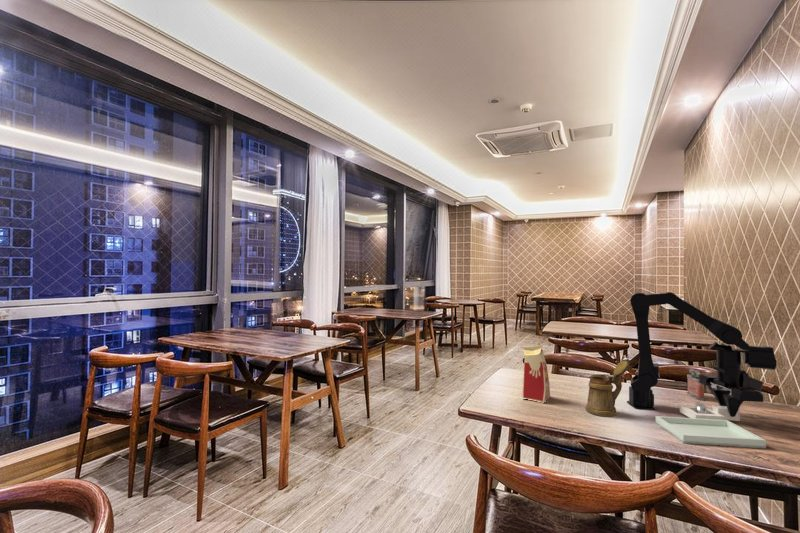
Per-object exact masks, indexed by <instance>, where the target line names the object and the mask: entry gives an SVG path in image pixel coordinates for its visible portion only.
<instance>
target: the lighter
mask: <svg viewBox="0 0 800 533" xmlns="http://www.w3.org/2000/svg"><path fill="white" fill-rule="evenodd" d="M688 372H689V374H688V373H687V374H686V376H687V377H686V378H687V391H686V394H687V395H688V396H689V397H690V398H692V399H695V400H696V401H699V402H701V401H702V402H704V401H705V400H706V397H705V385H703V384H701V383H699V377H700V376H702V373H700V371H699V370H696V369H693V368H689V370H688Z"/></svg>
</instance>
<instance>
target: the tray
mask: <svg viewBox="0 0 800 533" xmlns="http://www.w3.org/2000/svg"><path fill="white" fill-rule="evenodd" d="M655 425H657V426H659V427H660V428H662V429H663V430H664V431H666V432H667V433H669V434H670V435H671V436H673V437H674V438H676V439H677V440H679V442H681V443H682V444H691V445H702V444H703V445H705V446H718V445H720V446H721V447H733V446H734V447H736V448H750V449H763V450H765V449H767V440H766V439H765V438H762V437H760V436H758V435H756V434H755V433H753V432H751V431H749V430H747V429H745V428H743V427H741V426H739V425H738V424H735V423H734V422H732V421H731V420H716V419H699V418H689V417H680V416H679V417H678V416H677V417H676V416H665V415H664V416H660V415H659V416H658V415H655ZM720 446H719V447H720Z"/></svg>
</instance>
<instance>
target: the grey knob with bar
mask: <svg viewBox="0 0 800 533" xmlns="http://www.w3.org/2000/svg"><path fill="white" fill-rule="evenodd" d="M694 405H695V407H696V413H701V414H706V407H707V405H705V404H704V403H702V402H701V401H694Z"/></svg>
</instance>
